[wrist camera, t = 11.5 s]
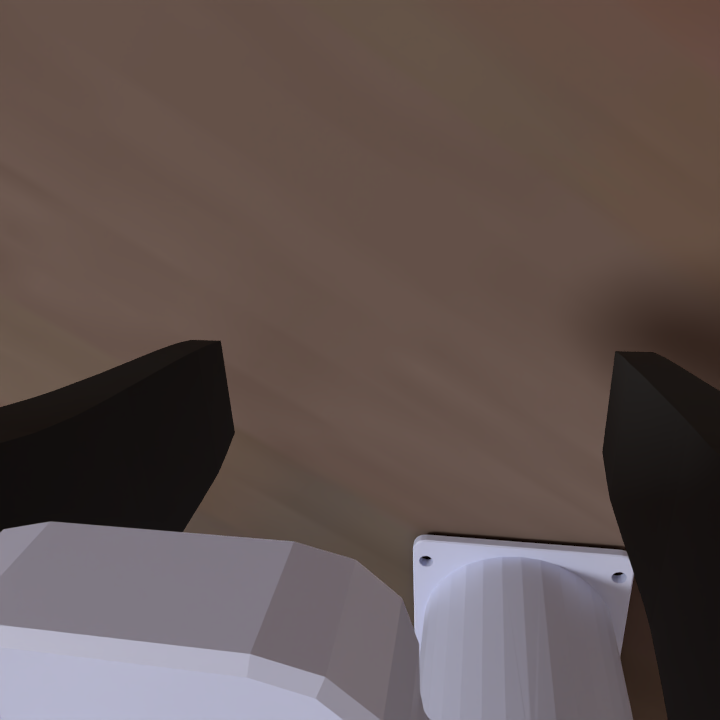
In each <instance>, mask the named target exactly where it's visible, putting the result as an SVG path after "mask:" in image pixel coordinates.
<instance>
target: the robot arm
mask: <svg viewBox="0 0 720 720" xmlns="http://www.w3.org/2000/svg"><path fill="white" fill-rule="evenodd" d="M234 433H235V431H234V425H233V418H232V412H231V405H230V399H229V392H228V386H227V379H226V372H225V366H224V359H223V353H222V346H221V341H207V340H189V341H184V342H180V343H177V344H174V345H171V346H168V347H165V348H162V349H160V350H157V351H154V352H152V353H149V354H147V355H144V356H142V357H139V358H137V359H135V360H132V361H130V362H127V363H125V364H122V365H120V366H117V367H115V368H113V369H110V370H108V371H105V372H103V373H100V374H97V375H95V376H92V377H89V378H87V379H84V380H82V381H79V382H76V383H74V384H71V385H68V386H66V387H63V388H60V389H58V390H55V391H52V392H49V393H46V394H43V395H40V396H37V397H34V398H31V399H27V400H24V401H21V402H17V403H14V404H10V405H7V406H3V407H0V720H633V716H632V712H631V707H630V702H629V697H628V693H627V688H626V683H625V679H624V674H623V669H622V665H621V660H620V655H621V649H622V643H623V637H624V631H625V625H626V619H627V613H628V608H629V602H630V596H631V590H632V584H633V578H634V576H635V579H636V582H637V585H638V588H639V591H640V594H641V597H642V600H643V603H644V607H645V611H646V614H647V618H648V622H649V625H650V629H651V634H652V639H653V644H654V649H655V654H656V659H657V664H658V669H659V674H660V679H661V684H662V689H663V695H664V700H665V706H666V712H667V717H668V720H720V391H719V390H717V389H715V388H714V387H712V386H710V385H709V384H707V383H706V382H704V381H702V380H701V379H699V378H697V377H696V376H694V375H693V374H691V373H689V372H688V371H686V370H685V369H683V368H681V367H680V366H678V365H676V364H675V363H673V362H671V361H670V360H668V359H666V358H664V357H662V356H660V355H658V354H656V353H653V352H619V351H615V358H614V366H613V374H612V382H611V389H610V397H609V405H608V413H607V421H606V428H605V436H604V444H603V459H604V466H605V472H606V479H607V485H608V491H609V496H610V501H611V504H612V507H613V510H614V514H615V517H616V520H617V523H618V526H619V529H620V533H621V536H622V539H623V542H624V545H625V548H626V551H624V550H618V549H605V548H592V547H580V546H567V545H554V544H541V543H528V542H515V541H503V540H490V539H477V538H464V537H451V536H438V535H421V536H418V537H417V538H416V539H415V541H414V546H413V575H414V627H415V631H414V629H413V626H412V623H411V621H410V618H409V615H408V613H407V610H406V607H405V605H404V602H403V599H402V598H401V597H400V596H399V595H398V594H397V593H395V592H394V591H393V590H392V589H391V588H389V587H388V586H387V585H386V584H385V583H383V582H382V581H381V580H380V579H378V578H377V577H376V576H375V575H374V574H372V573H371V572H370V571H369V570H368V569H366V568H365V567H364V566H363V565H362V564H360V563H359V562H358V561H357V560H355V559H352V558H348V557H345V556H342V555H338V554H335V553H331V552H328V551H325V550H321V549H318V548H314V547H311V546H308V545H304V544H301V543H297V542H293V541H281V540H269V539H257V538H245V537H233V536H221V535H209V534H197V533H185V532H183V530H184V529H185V527H186V526H187V524H188V522H189V521H190V519H191V518H192V516H193V514H194V513H195V511H196V509H197V508H198V506H199V505H200V503H201V501H202V500H203V498H204V496H205V495H206V493H207V491H208V490H209V488H210V486H211V485H212V483H213V481H214V479H215V478H216V476H217V474H218V472H219V470H220V468H221V466H222V463H223V461H224V459H225V456H226V454H227V451H228V449H229V446H230V443H231V441H232V438H233V436H234ZM422 556H428V557H430V558H431V559H424V558H422ZM616 572H621V573H623V574H621V575H617V576H616V575H613V574H614V573H616Z"/></svg>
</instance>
